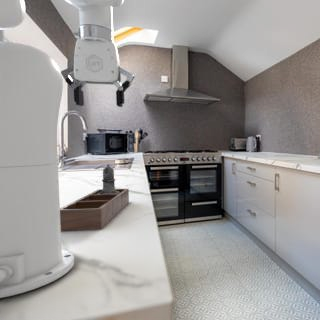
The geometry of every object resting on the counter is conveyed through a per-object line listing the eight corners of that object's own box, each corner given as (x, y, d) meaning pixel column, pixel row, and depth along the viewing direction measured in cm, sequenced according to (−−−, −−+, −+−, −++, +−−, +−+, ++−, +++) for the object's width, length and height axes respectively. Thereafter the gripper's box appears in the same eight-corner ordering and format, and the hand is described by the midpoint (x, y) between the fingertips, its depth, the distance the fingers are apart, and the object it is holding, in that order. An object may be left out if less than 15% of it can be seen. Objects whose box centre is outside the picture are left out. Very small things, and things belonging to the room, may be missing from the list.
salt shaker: (124, 203, 78) (123, 163, 77) (113, 208, 72) (111, 165, 71) (106, 202, 79) (104, 163, 78) (93, 207, 73) (91, 164, 72)
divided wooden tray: (101, 228, 56) (100, 208, 56) (56, 231, 55) (55, 210, 54) (128, 202, 81) (128, 188, 80) (98, 203, 79) (98, 189, 79)
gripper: (52, 29, 62) (56, 103, 63) (129, 35, 65) (131, 105, 66) (66, 40, 69) (70, 106, 71) (135, 45, 72) (137, 108, 74)
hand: (100, 106), depth 69 cm, fingers open, 9 cm apart
